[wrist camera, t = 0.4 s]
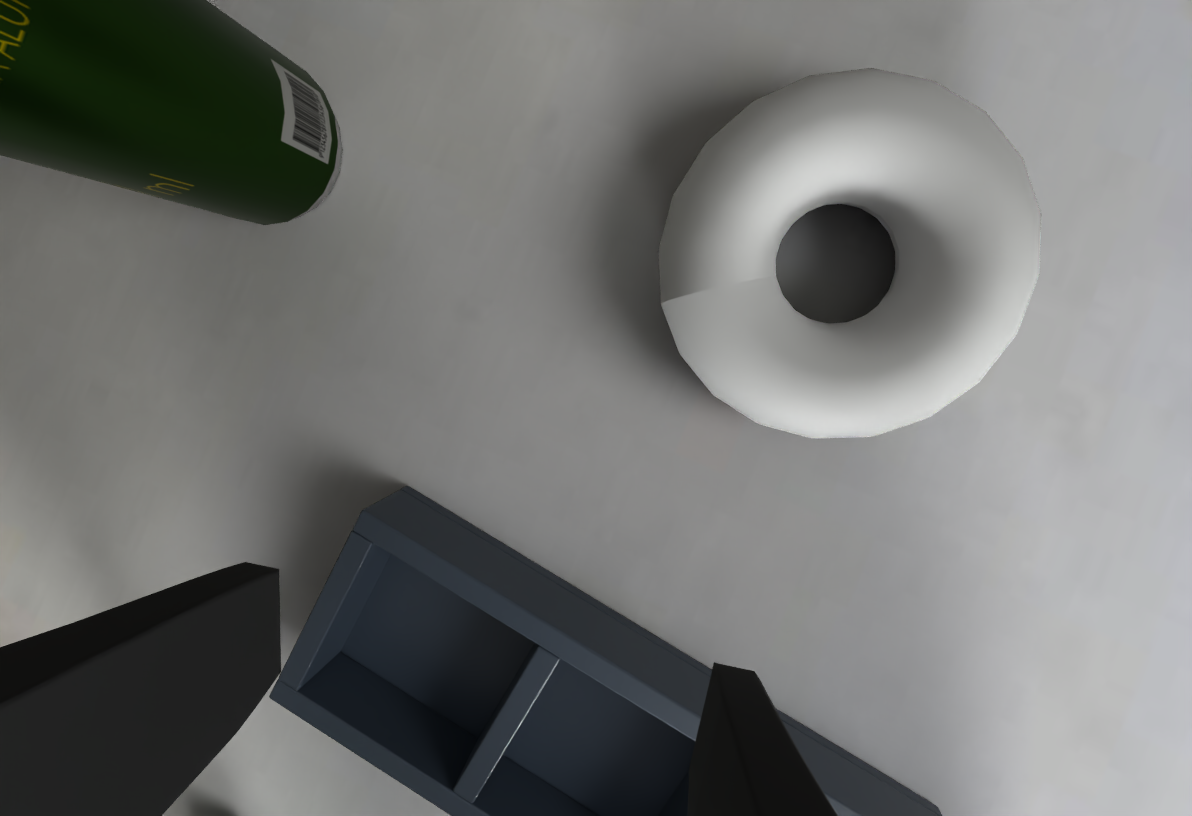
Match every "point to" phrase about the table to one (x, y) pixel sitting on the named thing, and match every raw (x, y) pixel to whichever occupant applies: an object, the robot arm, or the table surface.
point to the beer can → (165, 105)
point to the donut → (906, 210)
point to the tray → (513, 683)
